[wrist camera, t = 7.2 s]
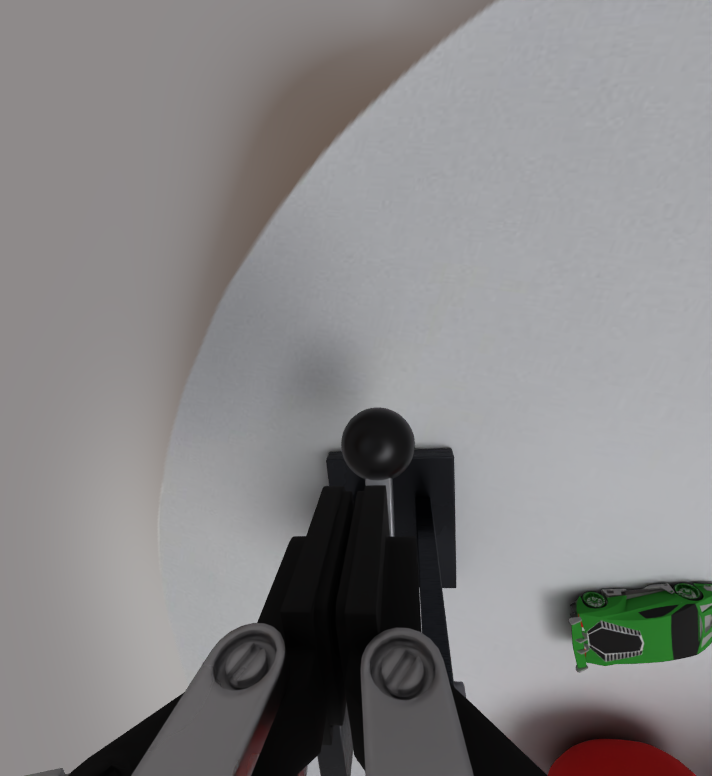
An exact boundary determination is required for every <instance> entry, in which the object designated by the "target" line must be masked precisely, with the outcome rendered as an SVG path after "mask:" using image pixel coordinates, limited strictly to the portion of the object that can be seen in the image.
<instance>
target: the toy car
mask: <svg viewBox="0 0 712 776" xmlns="http://www.w3.org/2000/svg"><path fill="white" fill-rule="evenodd" d="M624 590H626V589H602V591H601V594H602V595H603V596H602V595H601V594H599V593H597V592H586V593H584V594H583V596H582V599H581V597H580V596H579V598H578V600H576V601H575V602H573V603H572V604H571V605H570V606H571V607H572V608H571V609H572V611H573V612H574V613H575V614H570V615H571V617H572V618H569V623H570V624H571V625H572V644H573V650H574V654H575V658H576V662H577V665H576V671H577V672H579V673H580V672H582V671H584V670H586V669H588V666H587V665H586V662H587V663H592V664H597V665H603V666H608V665H613V664H637V663H653V662H664V661H671V660H676V659H681V658H686V657H690V656H694V655H697V654H699V653H701V652H702V651H703V650H705V649H706V648H707V647H708V646H709V645H710V644H711V643H712V584H697V583H693V585H690V584H687V583H678V584H675V585H674V587H673V589H672V588H671V587H670V585H669V584H668V583H667V584H656V585H648V586H647V587H645V588H643V589H639V590H628V591H624Z"/></svg>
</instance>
